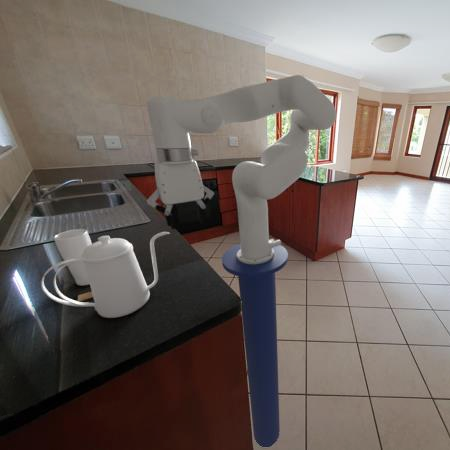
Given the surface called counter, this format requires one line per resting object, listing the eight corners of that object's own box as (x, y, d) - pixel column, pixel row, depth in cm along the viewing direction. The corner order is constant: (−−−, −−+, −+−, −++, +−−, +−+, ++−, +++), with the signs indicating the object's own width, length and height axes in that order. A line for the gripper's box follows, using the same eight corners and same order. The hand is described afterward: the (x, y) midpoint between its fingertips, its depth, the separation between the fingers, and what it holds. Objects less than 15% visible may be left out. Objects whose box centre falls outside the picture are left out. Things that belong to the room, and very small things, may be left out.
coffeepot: (185, 296, 63) (172, 231, 56) (56, 341, 49) (17, 263, 42) (177, 276, 71) (164, 218, 64) (64, 311, 57) (32, 241, 50)
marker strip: (116, 285, 67) (115, 284, 67) (116, 290, 65) (116, 289, 64) (78, 296, 62) (78, 295, 62) (77, 302, 60) (77, 301, 60)
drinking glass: (71, 281, 68) (51, 233, 62) (101, 271, 73) (85, 226, 67) (75, 291, 64) (54, 241, 58) (106, 280, 69) (89, 233, 63)
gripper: (206, 152, 64) (214, 214, 71) (130, 156, 54) (148, 227, 61) (216, 155, 59) (224, 222, 66) (133, 159, 49) (153, 237, 56)
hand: (187, 224), depth 63 cm, fingers open, 6 cm apart
